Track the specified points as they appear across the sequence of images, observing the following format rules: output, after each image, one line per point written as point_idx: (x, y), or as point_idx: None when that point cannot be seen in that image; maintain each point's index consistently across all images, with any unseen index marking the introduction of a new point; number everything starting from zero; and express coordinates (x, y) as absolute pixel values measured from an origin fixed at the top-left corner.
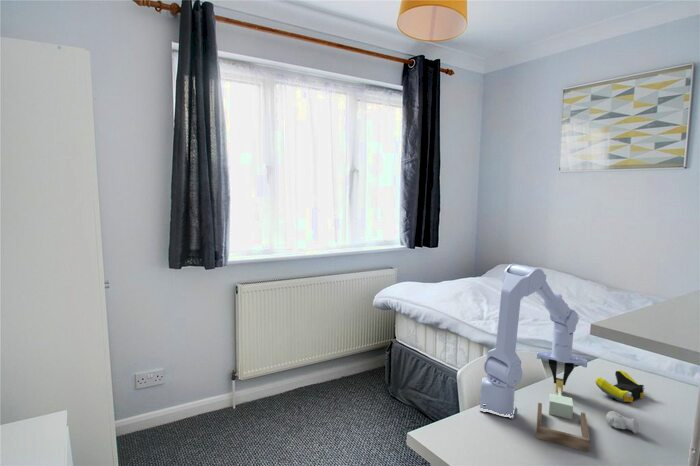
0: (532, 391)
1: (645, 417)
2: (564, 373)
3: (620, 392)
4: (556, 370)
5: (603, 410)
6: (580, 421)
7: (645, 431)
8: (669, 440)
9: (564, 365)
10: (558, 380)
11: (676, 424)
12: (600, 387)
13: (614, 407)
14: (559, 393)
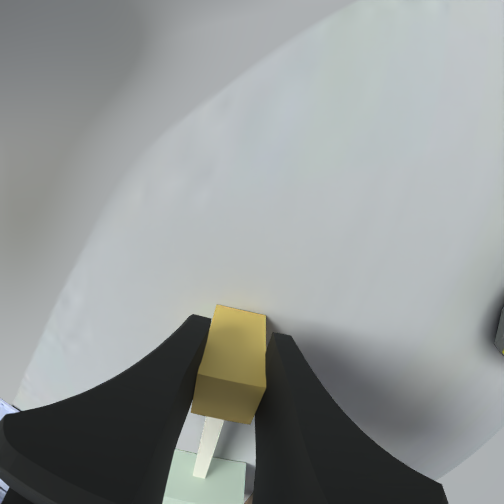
0: (80, 349)
1: (489, 408)
2: (258, 481)
3: None
4: (162, 497)
5: (391, 432)
6: (252, 498)
7: (424, 466)
8: (444, 468)
9: (305, 486)
10: (208, 415)
11: None
12: (500, 348)
13: (453, 395)
14: (208, 437)
